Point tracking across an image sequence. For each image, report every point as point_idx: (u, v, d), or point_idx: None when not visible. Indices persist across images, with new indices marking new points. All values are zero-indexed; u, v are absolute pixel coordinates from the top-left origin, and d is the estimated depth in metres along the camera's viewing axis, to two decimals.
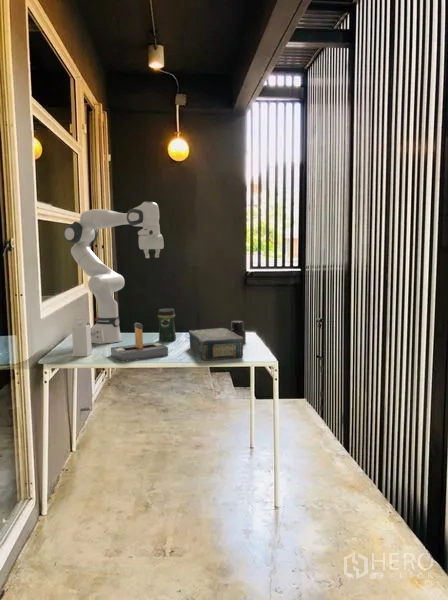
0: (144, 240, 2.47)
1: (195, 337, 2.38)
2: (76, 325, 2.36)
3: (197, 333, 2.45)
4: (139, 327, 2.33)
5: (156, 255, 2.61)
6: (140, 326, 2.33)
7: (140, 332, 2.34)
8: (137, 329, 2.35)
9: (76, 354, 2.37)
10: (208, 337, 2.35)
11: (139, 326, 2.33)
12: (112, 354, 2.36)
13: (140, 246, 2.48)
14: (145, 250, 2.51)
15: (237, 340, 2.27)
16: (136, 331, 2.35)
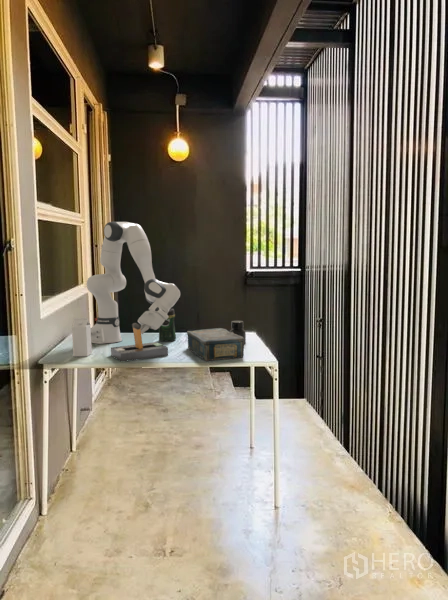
0: (161, 323, 2.32)
1: (195, 337, 2.37)
2: (76, 325, 2.36)
3: (196, 333, 2.44)
4: (137, 327, 2.33)
5: None
6: (138, 326, 2.33)
7: (138, 332, 2.34)
8: (135, 329, 2.34)
9: (76, 354, 2.37)
10: (208, 337, 2.35)
11: (137, 326, 2.33)
12: (112, 354, 2.36)
13: (154, 325, 2.30)
14: (147, 327, 2.36)
15: (238, 340, 2.28)
16: (135, 331, 2.35)
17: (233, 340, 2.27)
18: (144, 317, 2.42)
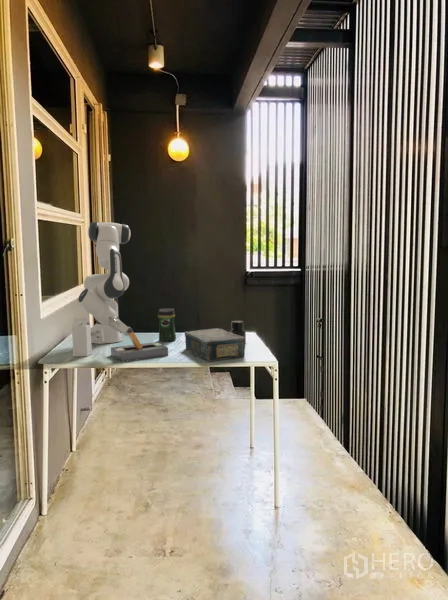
0: None
1: (195, 338, 2.35)
2: (76, 325, 2.36)
3: (195, 334, 2.43)
4: (129, 331, 2.31)
5: None
6: (130, 330, 2.31)
7: (133, 335, 2.32)
8: (129, 333, 2.32)
9: (76, 354, 2.37)
10: (208, 338, 2.34)
11: (129, 330, 2.31)
12: (112, 354, 2.36)
13: None
14: None
15: (239, 340, 2.28)
16: (129, 335, 2.34)
17: (235, 340, 2.27)
18: None
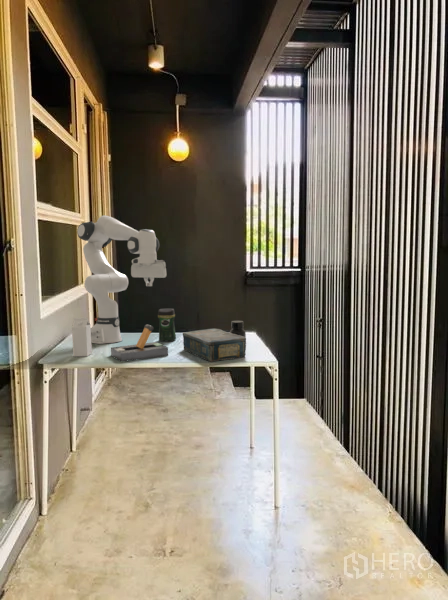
0: None
1: (195, 338, 2.34)
2: (76, 325, 2.36)
3: (194, 334, 2.41)
4: (149, 328, 2.36)
5: None
6: (151, 328, 2.36)
7: (148, 333, 2.36)
8: (146, 330, 2.37)
9: (76, 354, 2.37)
10: (209, 338, 2.33)
11: (150, 327, 2.36)
12: (112, 354, 2.36)
13: None
14: None
15: (241, 340, 2.28)
16: (145, 331, 2.38)
17: (236, 340, 2.27)
18: None
